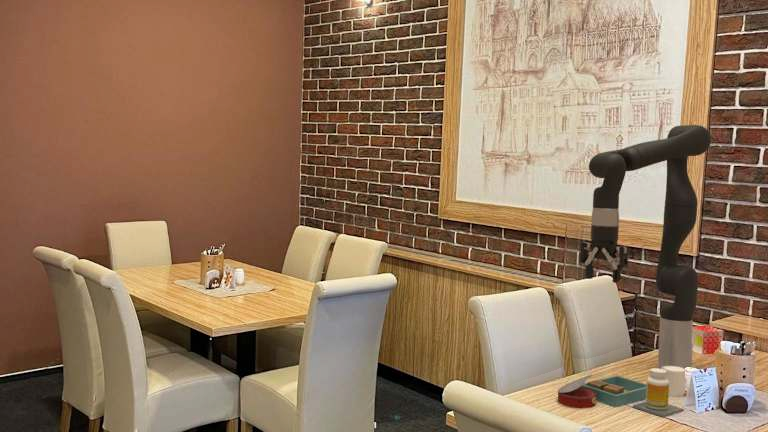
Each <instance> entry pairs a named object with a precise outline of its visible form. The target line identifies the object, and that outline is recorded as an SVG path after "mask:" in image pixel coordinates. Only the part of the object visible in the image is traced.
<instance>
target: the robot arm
mask: <svg viewBox="0 0 768 432" xmlns="http://www.w3.org/2000/svg"><path fill="white" fill-rule="evenodd" d="M711 137H712V136H711V133H710V131H709V130H708V129H707V128H706V127H705V126H702V125H700V124H698V125H697V124H686V125H684V124H682V125H676V126H673V127H672V128H671V129H670V130H669V131H668V134H667V137H666V138H662V139H657V140H656V139H655V140H650V141H644V142H640V143H635V144H633V145H630V146H627V147H624V148H620V149H615V150H608V151H604V152H600V153H597V154H595V155H594V156H593V157H592V158H591V159H590V160H589V164H588V170H589V172H590V174H591V175H592V176H593V177H596V178H598V179H603V181H602V184H601V186H598V187H596V188H595V189H594V191H593V195H592V197H593V198H592V212H591V217H590V218H591V219H590V222H591V223H590V241H591V242H588V241H584V242H581V244H580V250H579V263H581V264H584V265H585V277H586V279H588V280H590V279H593V278H594V264H595V262H596V261H598V260H603V261H608V263H609V264H611V266H612V268H613V269H612V283H613V284H615V283H617V284H618V283H619V282H620V281H621V276H622V270H623V269H625V268H628V266H629V247H628V245H627V246H626V245H625V246H618V241H619V227H620V212H619V211H620V210H619V205H620V202H619V201H620V193H621V189H622V187H623V183H624V179H625V177H626V173H627V172H633V171H637V170H640V169H642V168H647V167H650V166H653V165H655V164H659V163H661V162H665V161H666V182H665V183H666V185H665V187H666V188H665V200H664V209H663V210H664V211H663V224H662V225H663V226H662V235H661V243H660V245H661V246H660V251H659V257H658V262H657V267H656V274H655V284H656V288H657V289H658V291H659V292H660V293H662V294H666V295H671V296H674V302H673V303H672V304H670V305H665V306H662V307H661V308H660V312H659V314H660V315H659V333H658V351H657V352H658V354H657V357H658V359H657V368H658V369H661V367H662V366H678V367H683V368H686V367H691V368H692V365H693V363H692V361H693V351H692V348H693V344H692V326H693V322H694V321H693V319H694V313H695V310H696V307H697V299H698V298H697V297H698V290H699V276H698V273H697V271H696V269H694V268H693V267H690V266H685V265H681V264H680V265H679V264H678V259H679V254H680V250H681V247H682V246H683V244H684V242H685V241H686V239H687V238H688V236H689V235H690V233H691V232H692V231H693V229H694V228H695V225H696V223H697V219H698V218H697V217H698V206H699V205H698V203H699V202H698V197H697V194H696V191H695V189H694V186H693V185H692V182H691V180H690V178H689V175H688V174H689V173H688V161H689V157H696V156H697V157H698V156H700V155H702V154H704V153H706V151H708V149H709V148H710V147H711V146H710V145H711V141H712V140H711V139H712V138H711ZM590 250H591V252H590V253H589V251H590ZM617 253H618V255H617Z"/></svg>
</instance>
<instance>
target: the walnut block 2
mask: <svg viewBox="0 0 768 432" xmlns="http://www.w3.org/2000/svg"><path fill="white" fill-rule="evenodd" d="M603 391H606V392H609V393H612V394H615V395H617V394H620V393H624V392H625V389H624V387H621V386H617V385H613V384H609V385H607V386H605V387H603Z"/></svg>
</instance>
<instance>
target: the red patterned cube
mask: <svg viewBox="0 0 768 432" xmlns="http://www.w3.org/2000/svg"><path fill="white" fill-rule="evenodd" d="M721 341H723V342H724V330H723V329H719V328H717V327H714V326H711V325H692V344H693V348H692V352H695V353H698V354H700V355H715V354H714V352H715V350H717V349H718V348H719V346H720V342H721Z"/></svg>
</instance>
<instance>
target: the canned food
mask: <svg viewBox="0 0 768 432" xmlns="http://www.w3.org/2000/svg"><path fill="white" fill-rule="evenodd" d="M592 376H593V374H592V373H591V374H589V375H585V376H584V377H580V378H578V379H576V380H573V381H571V382H569V383H566V384H564V385H562V386H560V387H559V388H558V389H557V402H558V403H559V404H560V405H563V406H564V407H565V406H566V407H568V408H574V409H591V408H594V407H595V406H596V404H597V401H596V392H595V391H593V390H591V389H588V388H584V387H580V386H582V385H583V384H584V383H587V381H588V380H589V379H590V378H591V377H592Z"/></svg>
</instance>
